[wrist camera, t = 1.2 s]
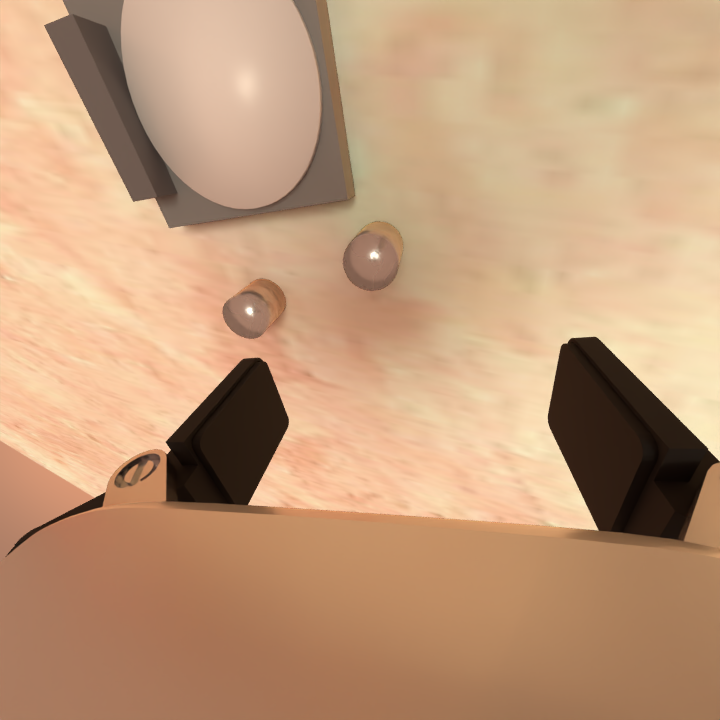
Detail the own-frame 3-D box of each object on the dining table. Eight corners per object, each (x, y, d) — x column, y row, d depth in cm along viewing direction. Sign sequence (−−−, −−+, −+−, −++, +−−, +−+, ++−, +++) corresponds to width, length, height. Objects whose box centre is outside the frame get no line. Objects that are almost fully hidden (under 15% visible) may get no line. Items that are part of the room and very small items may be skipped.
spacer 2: (351, 224, 27) (338, 238, 23) (401, 218, 26) (395, 230, 22) (359, 272, 30) (348, 292, 26) (405, 268, 29) (400, 288, 25)
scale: (90, -1, 22) (10, -35, 18) (312, -93, 18) (276, -166, 14) (187, 222, 30) (148, 234, 26) (355, 194, 26) (340, 204, 22)
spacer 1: (241, 280, 33) (215, 299, 29) (278, 276, 32) (256, 295, 28) (255, 317, 35) (233, 339, 31) (290, 315, 34) (271, 337, 30)
